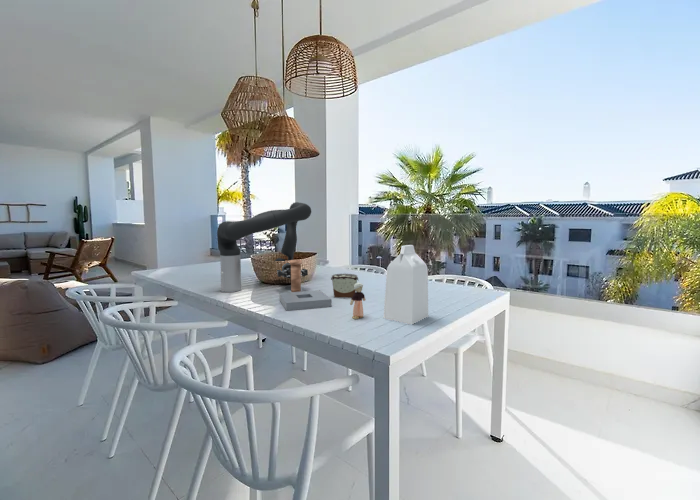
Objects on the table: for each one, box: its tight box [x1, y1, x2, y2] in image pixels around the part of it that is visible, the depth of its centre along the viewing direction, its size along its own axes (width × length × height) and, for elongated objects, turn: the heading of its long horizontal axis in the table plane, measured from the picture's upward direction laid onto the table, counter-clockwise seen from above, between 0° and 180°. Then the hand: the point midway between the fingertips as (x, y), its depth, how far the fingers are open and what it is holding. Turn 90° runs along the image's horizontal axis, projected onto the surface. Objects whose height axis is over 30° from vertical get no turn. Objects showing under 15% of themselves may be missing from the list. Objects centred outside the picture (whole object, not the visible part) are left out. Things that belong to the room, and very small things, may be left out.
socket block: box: [278, 289, 333, 311], centre depth 146 cm, size 18×18×3 cm
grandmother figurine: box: [349, 281, 366, 320], centre depth 126 cm, size 8×4×13 cm, turn 148°
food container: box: [330, 273, 359, 299], centre depth 158 cm, size 12×6×10 cm, turn 84°
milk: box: [383, 244, 429, 325], centre depth 125 cm, size 12×12×26 cm
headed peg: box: [290, 259, 303, 292], centre depth 162 cm, size 6×6×16 cm
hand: (295, 275), depth 164 cm, fingers open, 8 cm apart
